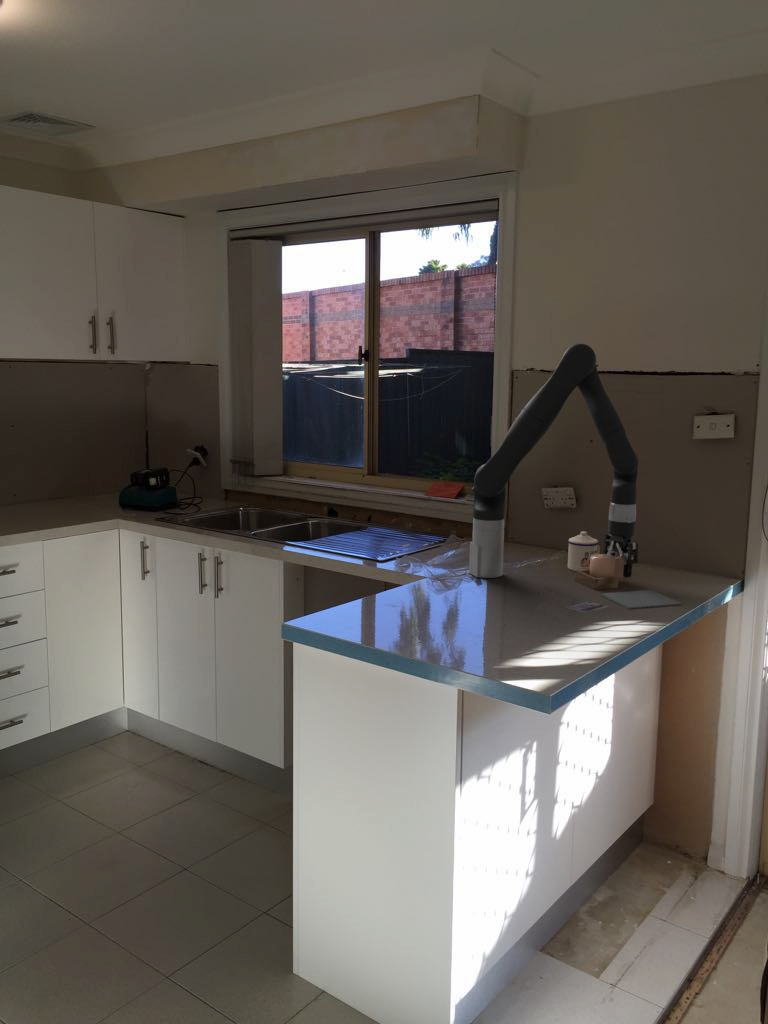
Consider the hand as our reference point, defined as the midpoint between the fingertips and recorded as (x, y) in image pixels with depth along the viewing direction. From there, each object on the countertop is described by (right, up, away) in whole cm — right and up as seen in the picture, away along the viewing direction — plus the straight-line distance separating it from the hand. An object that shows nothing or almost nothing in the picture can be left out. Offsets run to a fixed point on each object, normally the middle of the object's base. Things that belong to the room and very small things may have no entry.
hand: (619, 573), depth 250 cm
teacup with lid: (-6, 0, +17) cm, 18 cm away
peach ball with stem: (-4, -3, -1) cm, 5 cm away
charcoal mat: (+1, -6, -18) cm, 19 cm away
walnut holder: (-7, -3, -2) cm, 8 cm away
